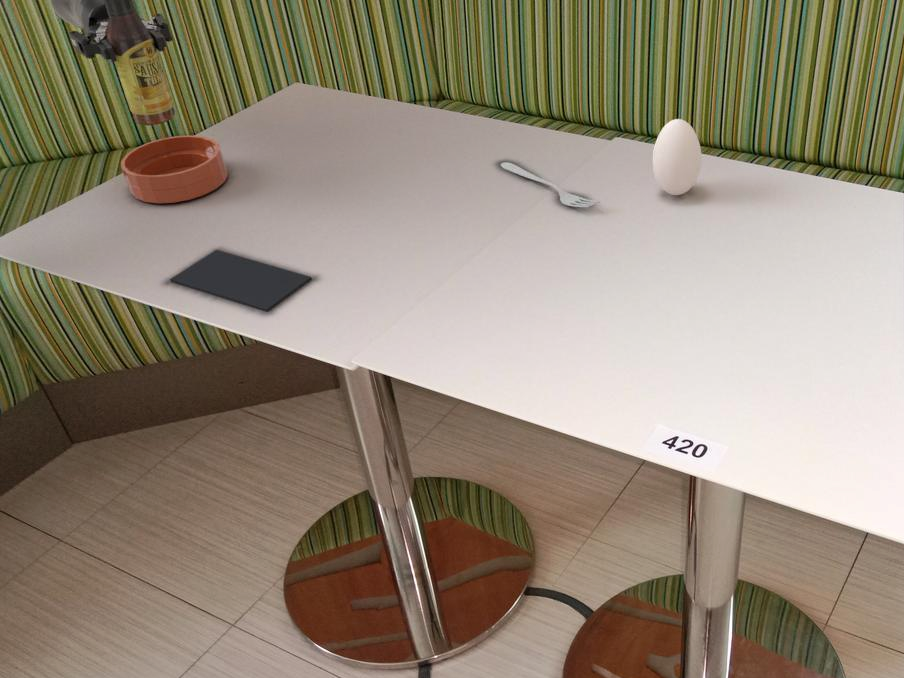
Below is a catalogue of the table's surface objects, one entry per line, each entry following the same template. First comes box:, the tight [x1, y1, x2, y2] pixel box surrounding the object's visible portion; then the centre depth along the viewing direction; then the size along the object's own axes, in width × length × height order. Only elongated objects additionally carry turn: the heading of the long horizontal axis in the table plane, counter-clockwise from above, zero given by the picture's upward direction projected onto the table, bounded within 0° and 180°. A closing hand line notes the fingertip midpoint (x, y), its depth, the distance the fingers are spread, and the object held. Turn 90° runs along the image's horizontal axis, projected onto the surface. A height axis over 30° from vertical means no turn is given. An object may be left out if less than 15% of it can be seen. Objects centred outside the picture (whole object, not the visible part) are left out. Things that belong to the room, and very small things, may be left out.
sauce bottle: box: [104, 0, 176, 126], centre depth 143 cm, size 7×6×20 cm
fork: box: [500, 161, 602, 208], centre depth 153 cm, size 3×24×2 cm, turn 40°
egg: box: [652, 118, 702, 196], centre depth 147 cm, size 7×7×12 cm
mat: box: [169, 249, 313, 313], centre depth 135 cm, size 18×9×1 cm, turn 62°
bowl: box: [120, 134, 229, 204], centre depth 157 cm, size 15×15×5 cm
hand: (136, 49), depth 140 cm, fingers closed on sauce bottle, 6 cm apart
